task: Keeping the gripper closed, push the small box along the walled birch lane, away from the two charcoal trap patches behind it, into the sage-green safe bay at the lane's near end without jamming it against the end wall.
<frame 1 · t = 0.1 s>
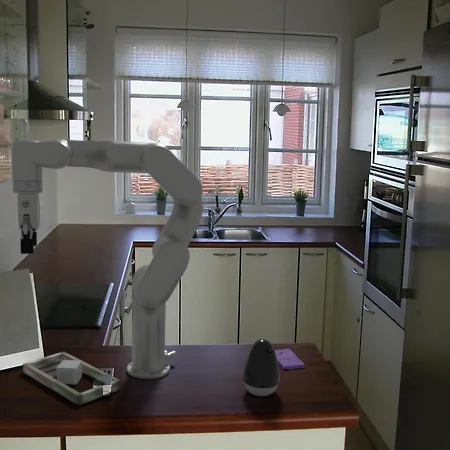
hand: (29, 249, 156), 37 cm above the countertop, tool pointing down, fingers open, 9 cm apart
sponges: (286, 363, 181), on the countertop
trap track: (70, 380, 162), on the countertop
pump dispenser: (260, 393, 159), on the countertop
small box: (69, 380, 163), resting in trap track
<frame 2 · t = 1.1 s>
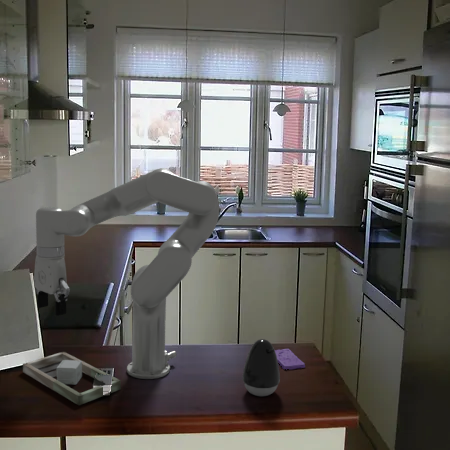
hand: (51, 310, 165), 18 cm above the countertop, tool pointing down, fingers open, 8 cm apart
nothing on the countertop moved.
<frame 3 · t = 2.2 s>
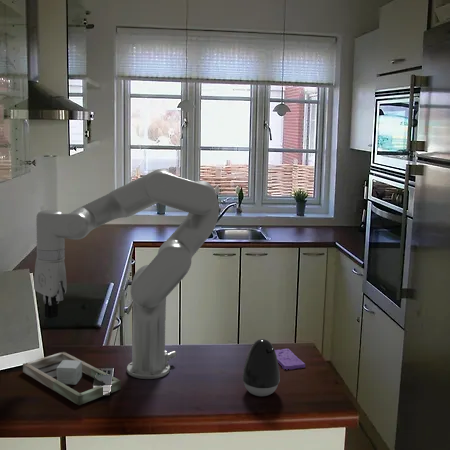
hand: (51, 316, 165), 16 cm above the countertop, tool pointing down, fingers closed
nothing on the countertop moved.
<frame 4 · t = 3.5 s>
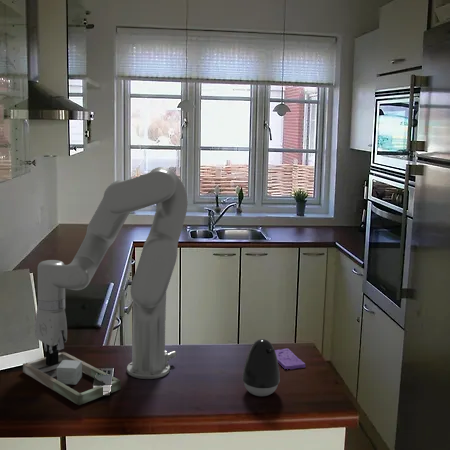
hand: (52, 364, 168), 2 cm above the countertop, tool pointing down, fingers closed
nothing on the countertop moved.
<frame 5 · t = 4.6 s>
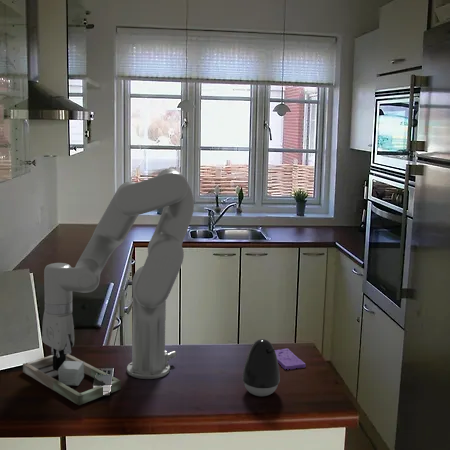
hand: (59, 368, 165), 2 cm above the countertop, tool pointing down, fingers closed
small box: (71, 382, 162), resting in trap track, touching gripper
everything else where it was.
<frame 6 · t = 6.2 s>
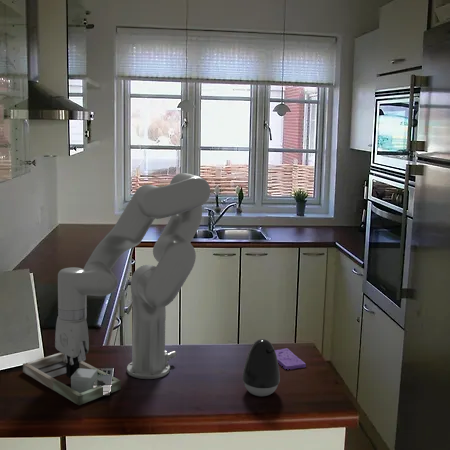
hand: (72, 376, 161), 2 cm above the countertop, tool pointing down, fingers closed
small box: (84, 390, 157), resting in trap track, touching gripper
everything else where it was.
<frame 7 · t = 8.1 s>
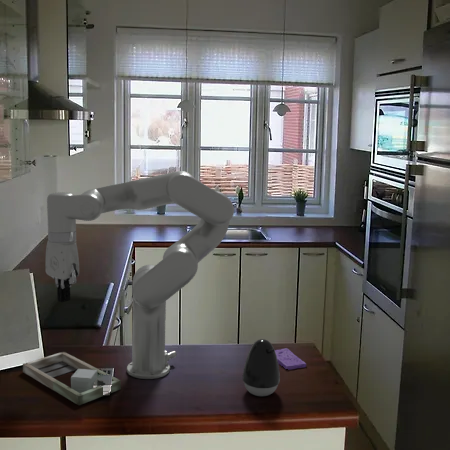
hand: (64, 300, 163), 22 cm above the countertop, tool pointing down, fingers closed
small box: (84, 390, 157), resting in trap track
everything else where it was.
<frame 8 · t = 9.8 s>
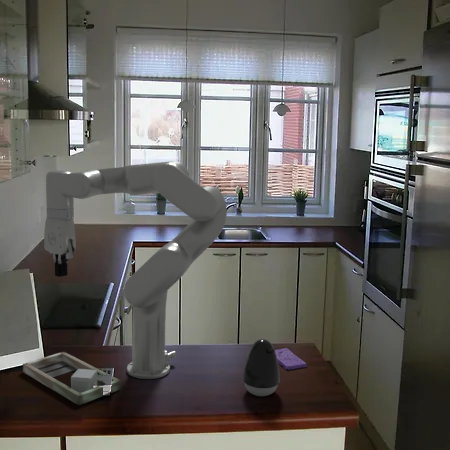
hand: (61, 275, 169), 27 cm above the countertop, tool pointing down, fingers closed
nothing on the countertop moved.
at the end: small box inside the target area (0.8 cm from its centre), resting in trap track; small box tilted 0° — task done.
